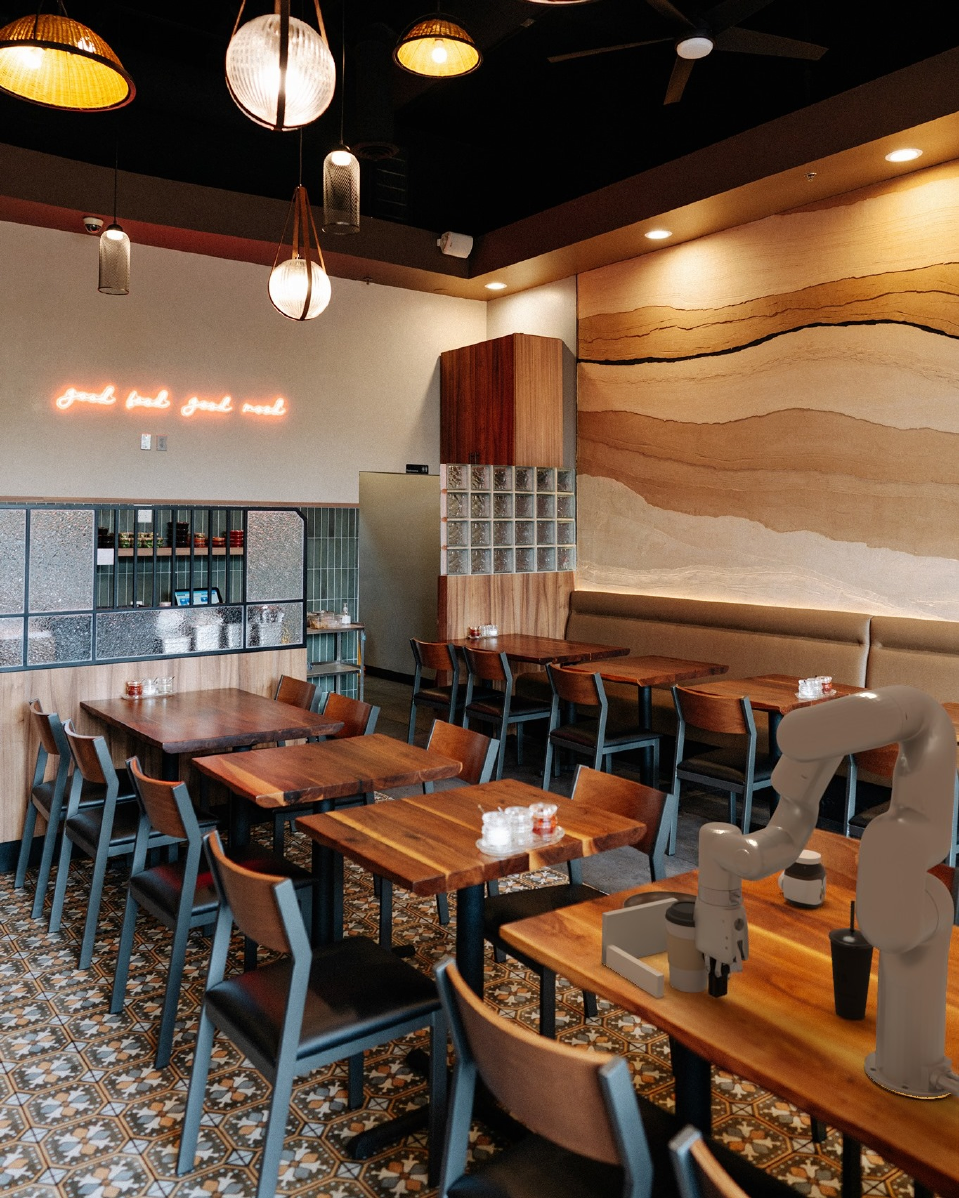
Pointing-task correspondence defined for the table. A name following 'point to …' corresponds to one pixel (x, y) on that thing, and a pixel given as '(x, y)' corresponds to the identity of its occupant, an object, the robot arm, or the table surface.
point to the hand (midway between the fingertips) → (717, 994)
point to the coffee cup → (684, 949)
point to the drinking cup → (850, 970)
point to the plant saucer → (656, 897)
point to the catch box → (636, 942)
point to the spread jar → (804, 881)
